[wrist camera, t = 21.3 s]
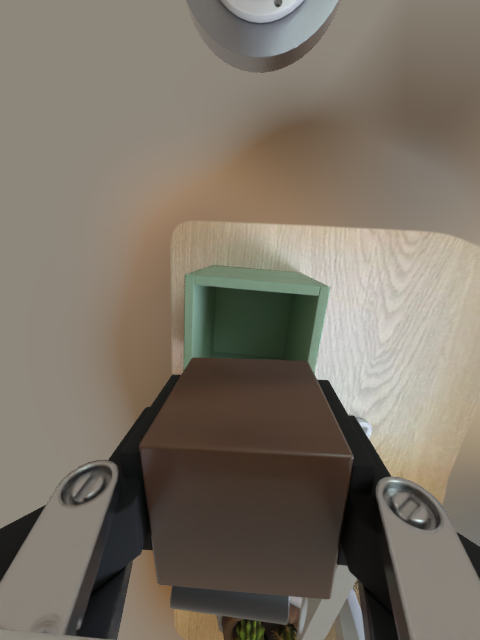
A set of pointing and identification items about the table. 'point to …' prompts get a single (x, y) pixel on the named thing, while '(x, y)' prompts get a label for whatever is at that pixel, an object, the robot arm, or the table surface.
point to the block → (246, 479)
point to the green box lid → (232, 604)
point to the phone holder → (322, 611)
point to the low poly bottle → (350, 620)
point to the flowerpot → (262, 626)
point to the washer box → (253, 314)
